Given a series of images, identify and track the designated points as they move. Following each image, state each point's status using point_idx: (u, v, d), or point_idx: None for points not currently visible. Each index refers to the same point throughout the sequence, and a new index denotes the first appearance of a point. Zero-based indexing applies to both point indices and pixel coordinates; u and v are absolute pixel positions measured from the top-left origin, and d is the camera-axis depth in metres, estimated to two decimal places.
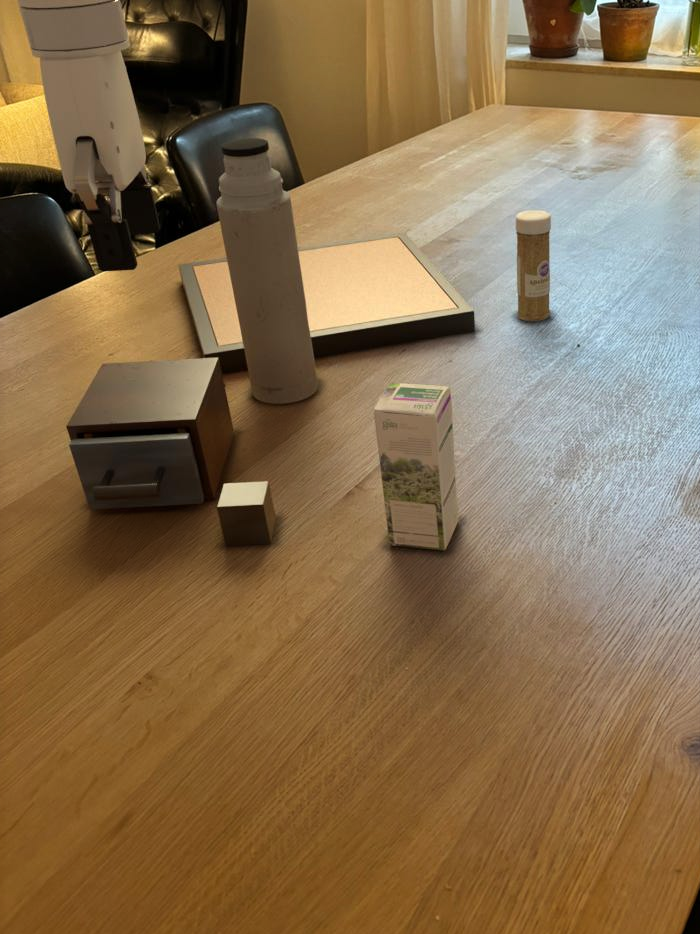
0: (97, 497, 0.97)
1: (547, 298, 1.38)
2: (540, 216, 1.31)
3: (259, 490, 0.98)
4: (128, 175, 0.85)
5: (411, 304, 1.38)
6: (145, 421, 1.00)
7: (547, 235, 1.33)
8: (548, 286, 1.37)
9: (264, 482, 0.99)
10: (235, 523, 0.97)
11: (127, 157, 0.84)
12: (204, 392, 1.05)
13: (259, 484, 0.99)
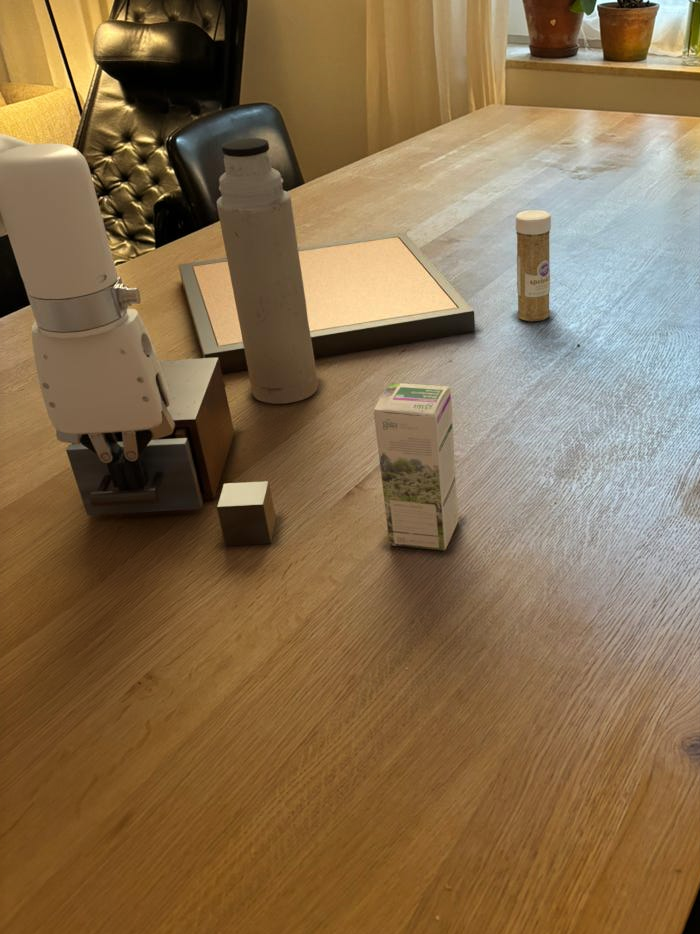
0: (94, 503, 0.96)
1: (547, 298, 1.38)
2: (540, 216, 1.31)
3: (259, 490, 0.98)
4: (76, 427, 0.92)
5: (411, 304, 1.38)
6: None
7: (547, 235, 1.33)
8: (548, 286, 1.37)
9: (264, 482, 0.99)
10: (235, 523, 0.97)
11: (75, 414, 0.91)
12: (204, 392, 1.05)
13: (259, 484, 0.99)
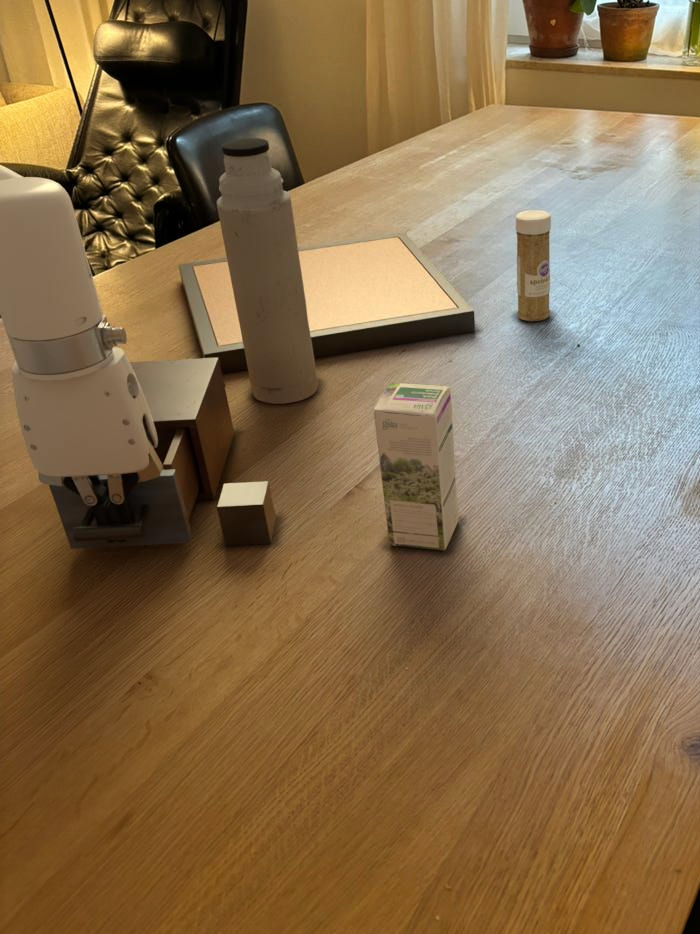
0: (77, 539, 0.92)
1: (547, 298, 1.38)
2: (540, 216, 1.31)
3: (259, 490, 0.98)
4: (58, 470, 0.88)
5: (411, 304, 1.38)
6: None
7: (547, 235, 1.33)
8: (548, 286, 1.37)
9: (264, 482, 0.99)
10: (235, 523, 0.97)
11: (58, 457, 0.87)
12: (204, 392, 1.05)
13: (259, 484, 0.99)
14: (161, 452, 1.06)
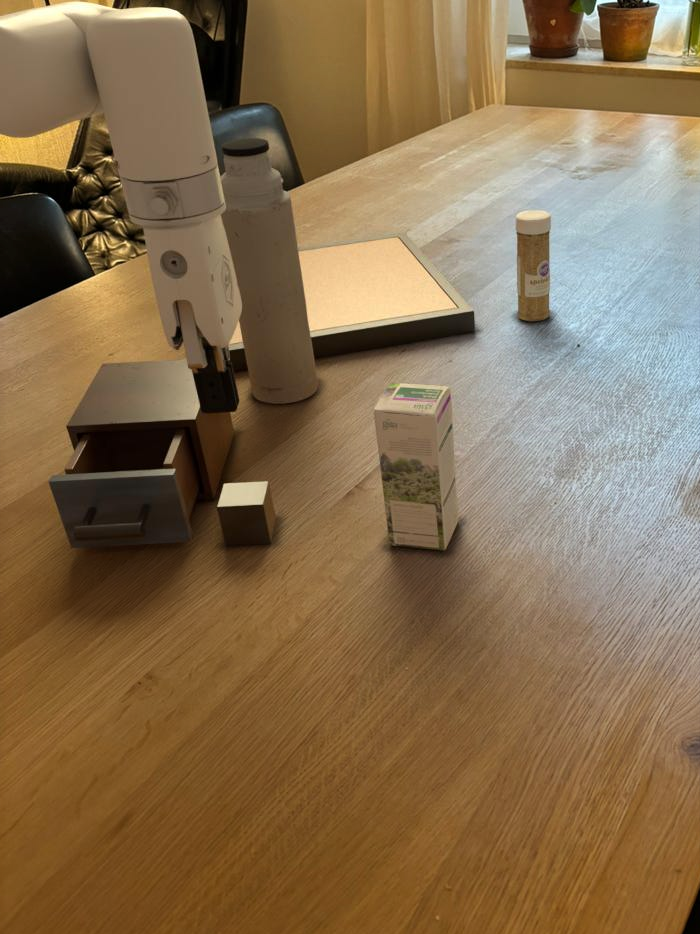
0: (78, 538, 0.92)
1: (547, 298, 1.38)
2: (540, 216, 1.31)
3: (259, 490, 0.98)
4: None
5: (411, 304, 1.38)
6: (145, 421, 1.00)
7: (547, 235, 1.33)
8: (548, 286, 1.37)
9: (264, 482, 0.99)
10: (235, 523, 0.97)
11: None
12: None
13: (259, 484, 0.99)
14: (161, 452, 1.06)
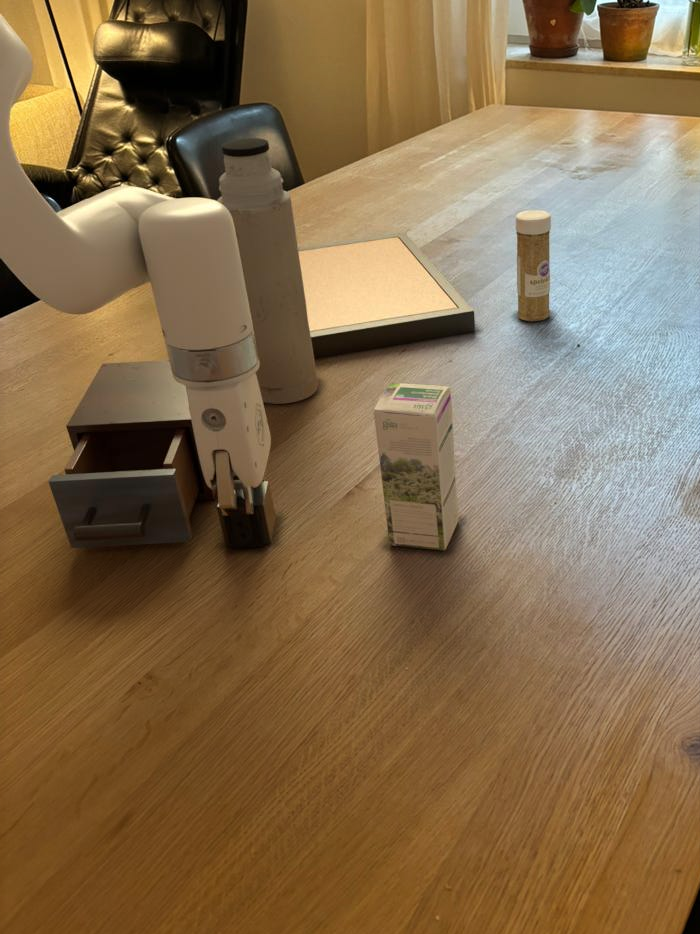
0: (78, 538, 0.92)
1: (547, 298, 1.38)
2: (540, 216, 1.31)
3: (259, 490, 0.98)
4: None
5: (411, 304, 1.38)
6: (145, 421, 1.00)
7: (547, 235, 1.33)
8: (548, 286, 1.37)
9: (264, 482, 0.99)
10: None
11: None
12: None
13: None
14: (161, 452, 1.06)
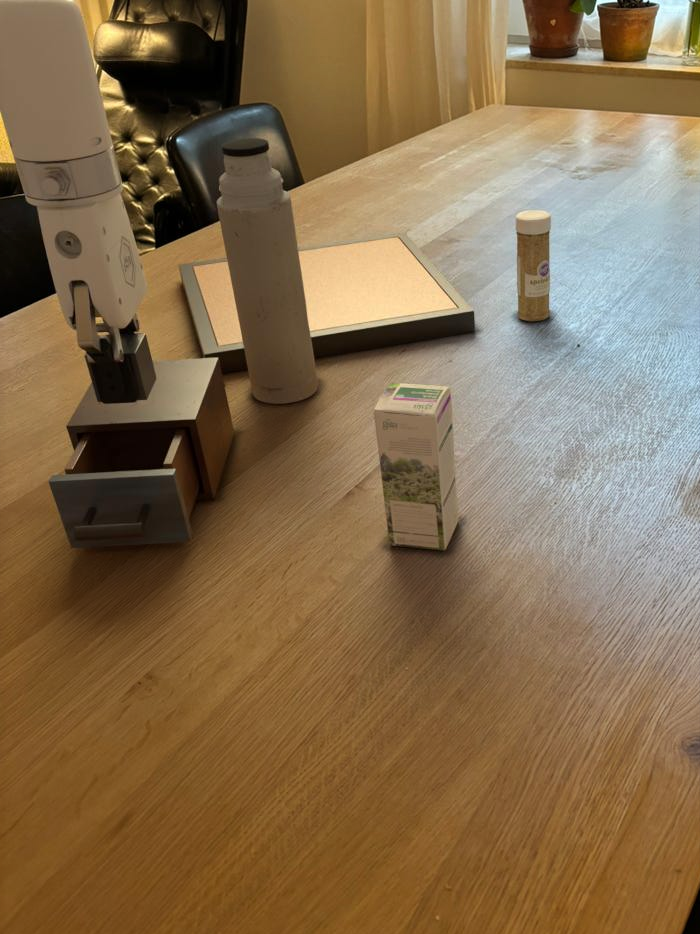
0: (78, 538, 0.92)
1: (547, 298, 1.38)
2: (540, 216, 1.31)
3: (133, 340, 0.91)
4: None
5: (411, 304, 1.38)
6: (145, 421, 1.00)
7: (547, 235, 1.33)
8: (548, 286, 1.37)
9: (140, 334, 0.92)
10: None
11: None
12: (204, 392, 1.05)
13: (134, 335, 0.91)
14: (161, 452, 1.06)
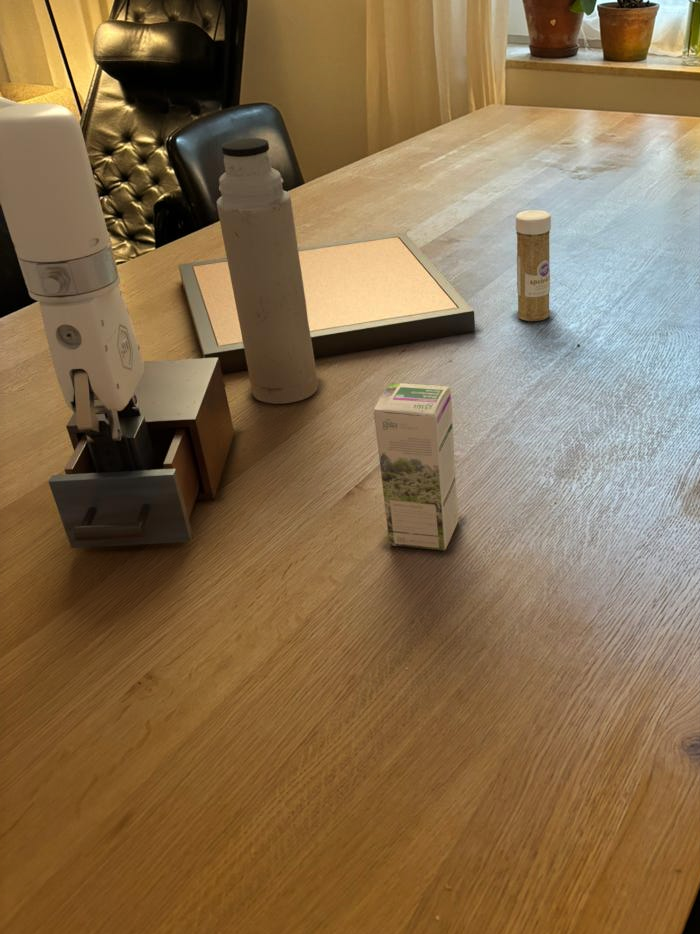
0: (78, 538, 0.92)
1: (547, 298, 1.38)
2: (540, 216, 1.31)
3: (133, 424, 0.96)
4: None
5: (411, 304, 1.38)
6: None
7: (547, 235, 1.33)
8: (548, 286, 1.37)
9: (139, 417, 0.97)
10: None
11: None
12: (204, 392, 1.05)
13: (134, 418, 0.97)
14: (161, 452, 1.06)
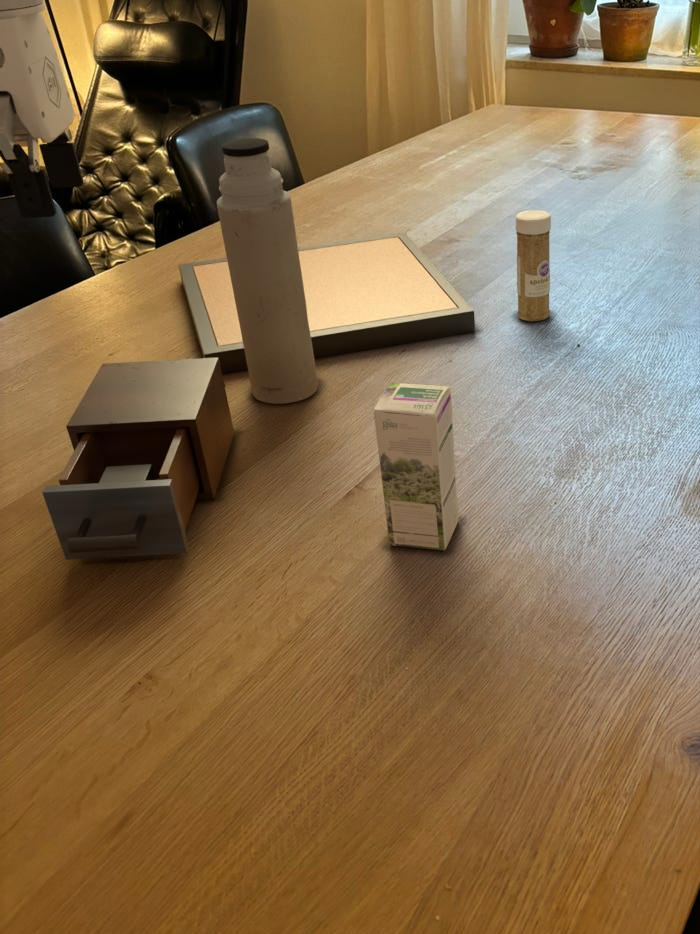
0: (72, 550, 0.90)
1: (547, 298, 1.38)
2: (540, 216, 1.31)
3: (140, 472, 0.98)
4: None
5: (411, 304, 1.38)
6: (145, 421, 1.00)
7: (547, 235, 1.33)
8: (548, 286, 1.37)
9: (147, 465, 0.99)
10: None
11: None
12: (204, 392, 1.05)
13: (141, 467, 0.98)
14: (157, 461, 1.04)
